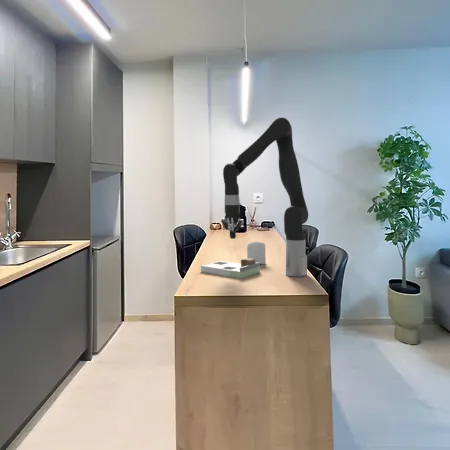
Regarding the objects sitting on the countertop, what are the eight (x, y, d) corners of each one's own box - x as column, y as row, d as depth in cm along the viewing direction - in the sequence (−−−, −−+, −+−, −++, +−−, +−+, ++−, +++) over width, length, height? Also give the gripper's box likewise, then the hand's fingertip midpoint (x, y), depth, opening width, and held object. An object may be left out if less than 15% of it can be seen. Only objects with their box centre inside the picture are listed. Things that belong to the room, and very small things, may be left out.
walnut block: (255, 266, 187) (255, 258, 186) (249, 268, 183) (249, 260, 182) (246, 265, 190) (246, 257, 189) (240, 267, 186) (240, 259, 185)
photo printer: (247, 264, 207) (247, 242, 206) (246, 263, 211) (246, 241, 210) (266, 264, 208) (266, 242, 207) (264, 262, 212) (264, 241, 211)
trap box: (259, 272, 188) (259, 262, 188) (241, 278, 176) (241, 267, 175) (220, 266, 203) (220, 257, 203) (201, 271, 191) (200, 261, 190)
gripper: (247, 203, 188) (247, 238, 189) (225, 203, 196) (226, 237, 197) (238, 204, 182) (239, 240, 183) (217, 204, 190) (217, 238, 191)
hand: (232, 238), depth 190 cm, fingers closed
